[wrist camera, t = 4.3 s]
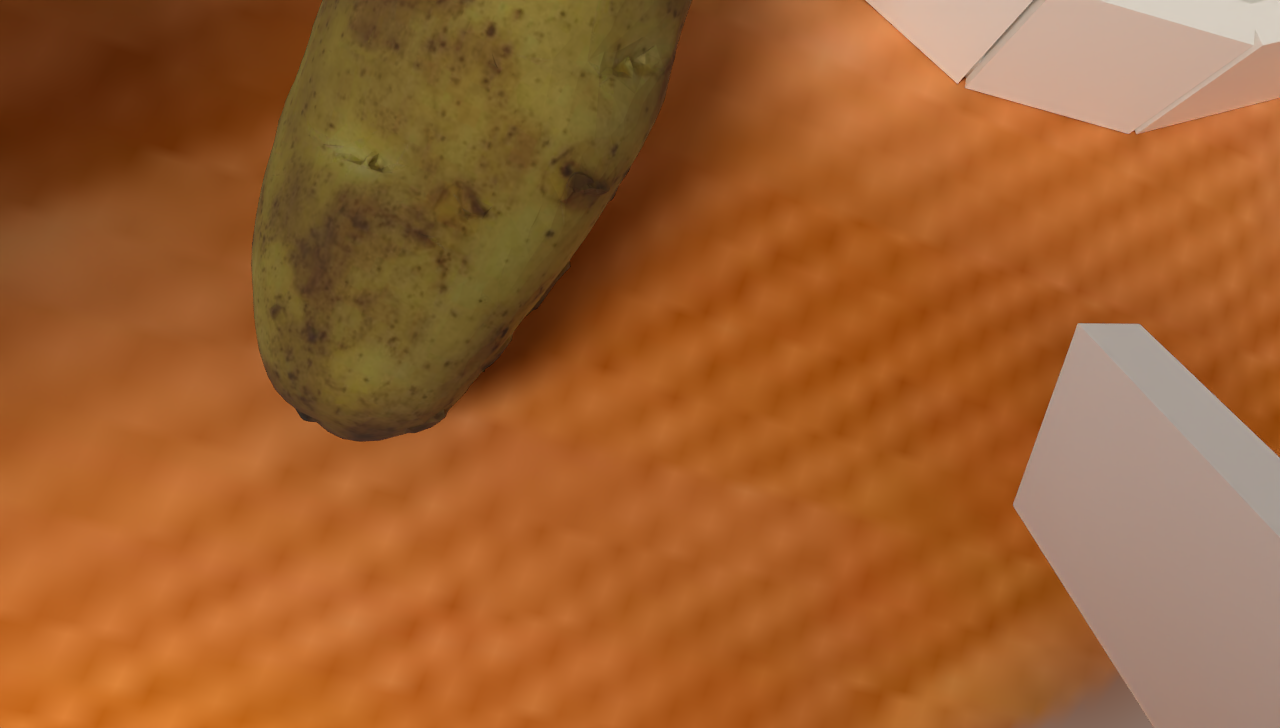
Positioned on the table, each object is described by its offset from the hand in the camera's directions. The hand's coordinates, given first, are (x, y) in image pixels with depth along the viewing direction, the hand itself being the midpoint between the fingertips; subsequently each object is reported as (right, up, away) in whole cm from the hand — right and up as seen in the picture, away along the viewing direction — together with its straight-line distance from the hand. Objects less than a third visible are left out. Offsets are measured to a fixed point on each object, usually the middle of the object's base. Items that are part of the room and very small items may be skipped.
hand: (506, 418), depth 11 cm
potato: (-3, +5, +12) cm, 14 cm away
